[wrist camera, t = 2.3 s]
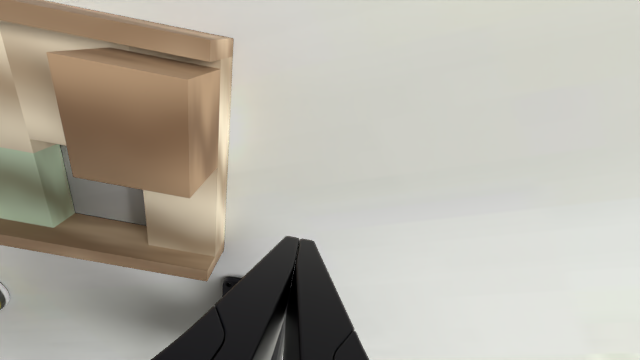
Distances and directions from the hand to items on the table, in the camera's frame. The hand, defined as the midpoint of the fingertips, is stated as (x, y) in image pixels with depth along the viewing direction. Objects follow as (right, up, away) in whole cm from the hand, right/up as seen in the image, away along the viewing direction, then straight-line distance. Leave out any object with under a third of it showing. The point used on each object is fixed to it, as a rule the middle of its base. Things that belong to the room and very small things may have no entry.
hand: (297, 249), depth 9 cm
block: (-8, +6, +9) cm, 13 cm away
